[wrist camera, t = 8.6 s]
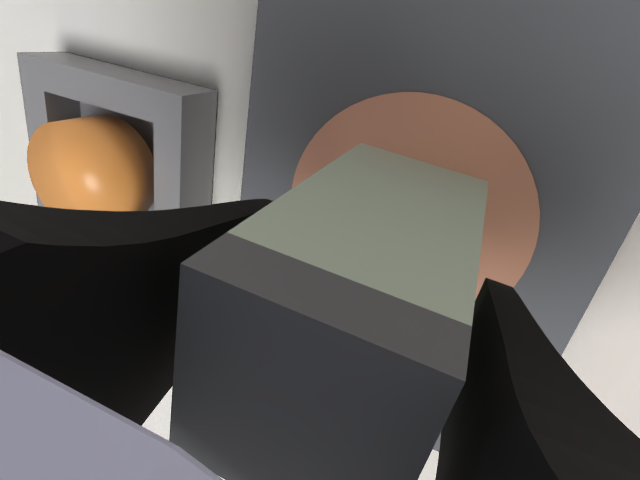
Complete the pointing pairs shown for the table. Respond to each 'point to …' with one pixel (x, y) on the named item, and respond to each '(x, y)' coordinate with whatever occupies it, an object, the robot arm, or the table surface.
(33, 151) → the button
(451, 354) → the grey and green block
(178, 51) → the table surface
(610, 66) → the drawing mat
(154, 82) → the button housing
